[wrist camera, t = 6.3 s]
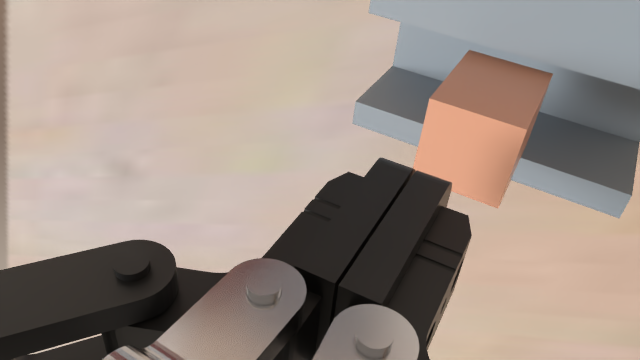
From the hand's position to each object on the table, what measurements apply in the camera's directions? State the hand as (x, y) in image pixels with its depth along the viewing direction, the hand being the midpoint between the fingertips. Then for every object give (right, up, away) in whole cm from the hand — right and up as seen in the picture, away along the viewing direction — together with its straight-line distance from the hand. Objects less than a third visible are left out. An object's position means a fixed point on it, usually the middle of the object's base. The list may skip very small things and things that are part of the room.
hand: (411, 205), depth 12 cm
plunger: (+3, +3, +4) cm, 6 cm away
